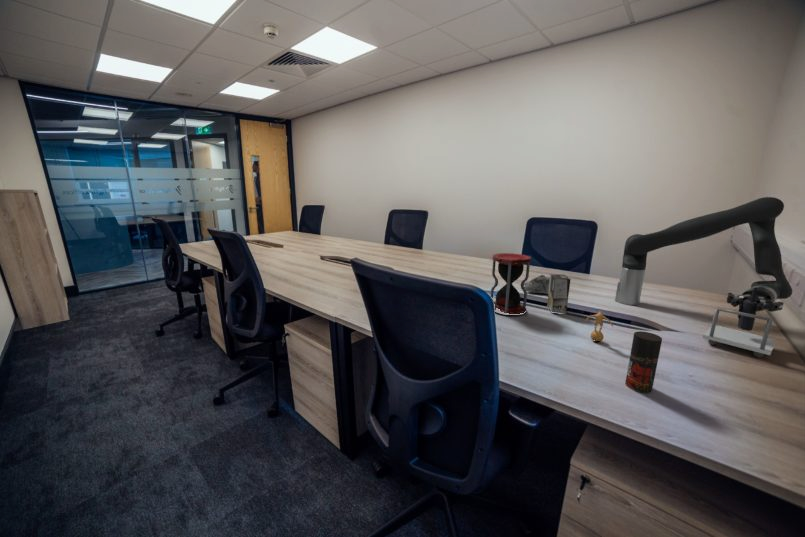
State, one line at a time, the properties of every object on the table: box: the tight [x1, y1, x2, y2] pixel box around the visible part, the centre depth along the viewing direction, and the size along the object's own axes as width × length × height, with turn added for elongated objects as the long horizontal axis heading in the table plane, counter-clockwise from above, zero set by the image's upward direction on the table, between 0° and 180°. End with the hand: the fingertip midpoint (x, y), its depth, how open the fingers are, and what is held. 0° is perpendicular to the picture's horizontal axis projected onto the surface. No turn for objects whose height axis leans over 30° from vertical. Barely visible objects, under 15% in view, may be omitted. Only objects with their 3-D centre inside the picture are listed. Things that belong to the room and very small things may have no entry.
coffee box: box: [546, 273, 571, 314], centre depth 144 cm, size 9×6×16 cm
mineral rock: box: [524, 274, 550, 295], centre depth 172 cm, size 13×11×10 cm
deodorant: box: [624, 331, 663, 394], centre depth 86 cm, size 6×6×15 cm
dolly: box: [702, 307, 777, 358], centre depth 110 cm, size 16×15×14 cm
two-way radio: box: [737, 287, 757, 332], centre depth 109 cm, size 6×4×15 cm
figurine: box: [585, 311, 614, 342], centre depth 113 cm, size 8×6×12 cm
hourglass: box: [490, 252, 532, 314], centre depth 144 cm, size 16×16×25 cm
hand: (745, 306), depth 107 cm, fingers closed on two-way radio, 4 cm apart
